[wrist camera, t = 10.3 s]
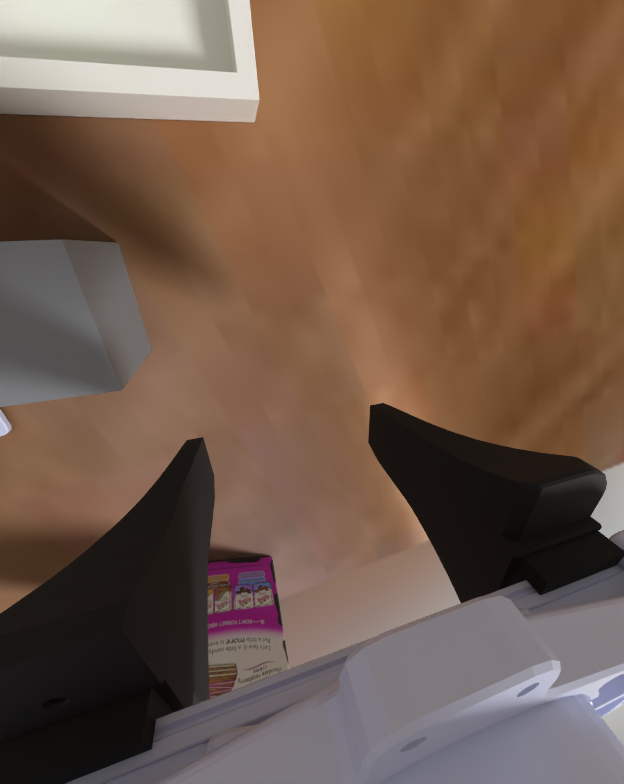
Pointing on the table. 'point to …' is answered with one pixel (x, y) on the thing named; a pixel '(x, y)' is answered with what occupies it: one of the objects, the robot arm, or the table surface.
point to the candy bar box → (243, 624)
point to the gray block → (66, 321)
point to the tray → (128, 59)
